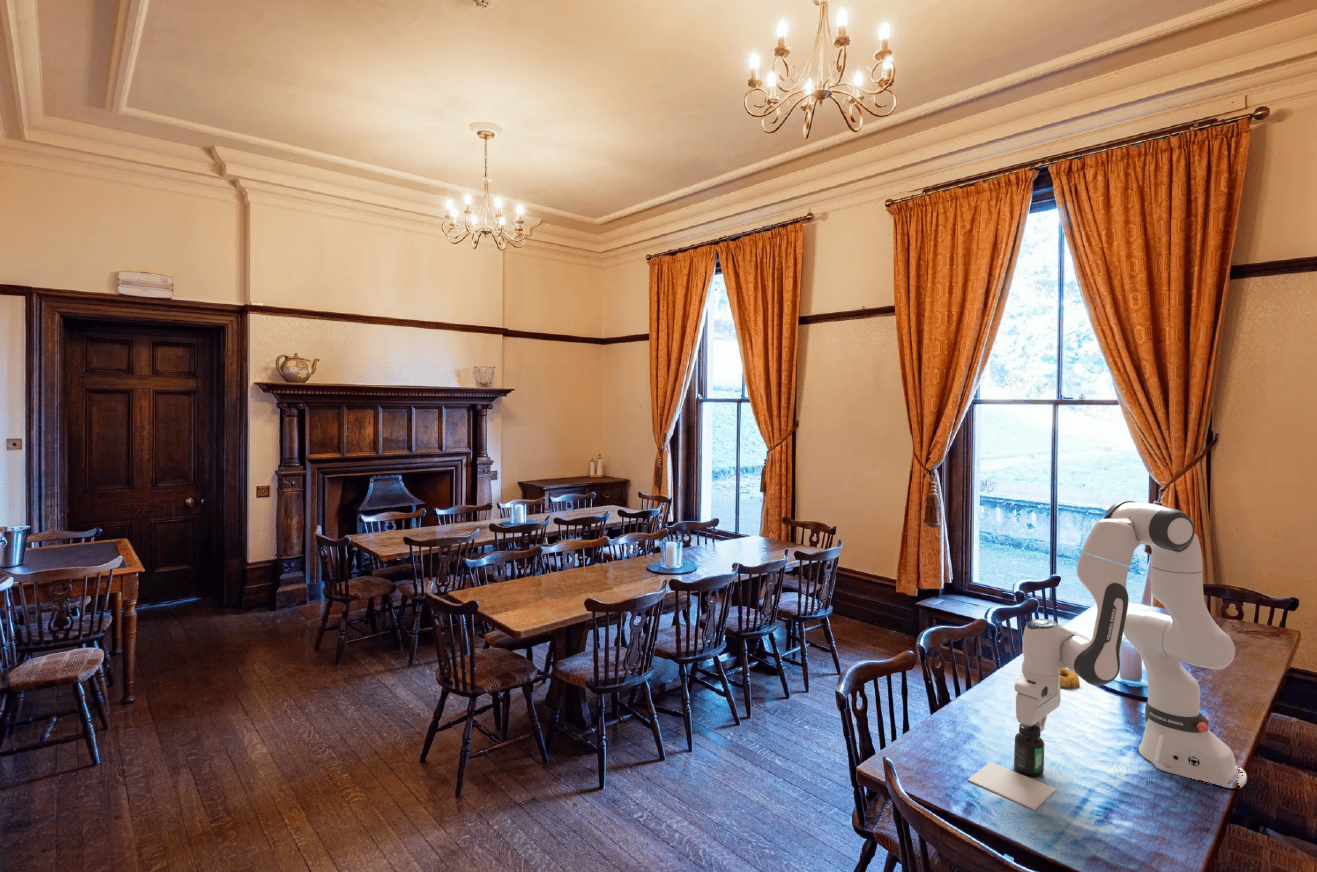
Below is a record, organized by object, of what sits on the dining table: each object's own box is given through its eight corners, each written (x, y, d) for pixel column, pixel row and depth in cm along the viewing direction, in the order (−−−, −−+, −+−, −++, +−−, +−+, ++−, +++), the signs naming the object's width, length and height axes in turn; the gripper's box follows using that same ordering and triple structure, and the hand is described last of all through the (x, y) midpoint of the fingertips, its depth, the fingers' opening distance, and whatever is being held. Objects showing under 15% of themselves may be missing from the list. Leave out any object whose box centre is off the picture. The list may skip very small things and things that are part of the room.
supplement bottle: (1045, 780, 169) (1047, 735, 168) (1015, 775, 171) (1017, 730, 171) (1041, 767, 175) (1042, 723, 175) (1012, 762, 178) (1013, 718, 177)
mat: (1056, 790, 164) (1056, 788, 164) (1034, 810, 156) (1034, 808, 156) (990, 763, 177) (990, 761, 177) (967, 780, 169) (967, 779, 169)
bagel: (1042, 683, 229) (1043, 670, 229) (1051, 674, 237) (1051, 661, 236) (1075, 692, 222) (1076, 678, 222) (1083, 683, 230) (1083, 670, 230)
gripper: (1043, 667, 185) (1041, 715, 186) (1011, 686, 172) (1009, 738, 173) (1068, 674, 180) (1066, 724, 181) (1037, 694, 167) (1035, 747, 168)
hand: (1038, 731), depth 177 cm, fingers closed
